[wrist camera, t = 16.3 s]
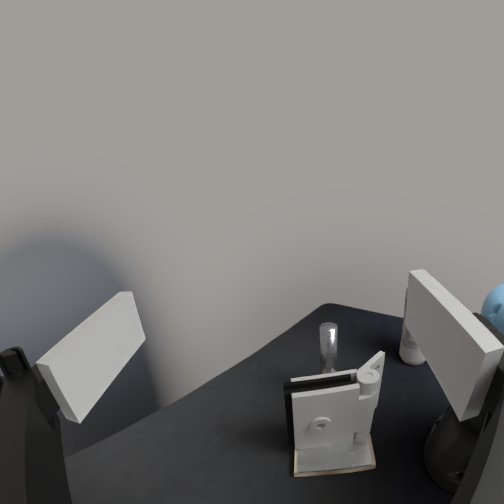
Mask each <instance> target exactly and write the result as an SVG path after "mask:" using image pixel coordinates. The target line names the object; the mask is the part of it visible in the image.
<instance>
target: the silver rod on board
mask: <svg viewBox="0 0 504 504" xmlns="http://www.w3.org/2000/svg"><path fill="white" fill-rule="evenodd" d="M336 370H337V325H336V324H335V323H331V322H328V323H323V324H322V325H321V326H320V375H321V374H328V373H335V372H336ZM371 465H372V459H371V453H370V448H369V443H368V438H367V435H366V436H364V437H356V436H354V437H353V441H349V442H344V443H339V444H333V445H327V446H320V447H313V448H306V449H299V459H298V473H309V472H323V471H334V470H343V469H351V468H358V467H365V466H371Z"/></svg>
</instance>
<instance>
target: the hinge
mask: <svg viewBox="0 0 504 504" xmlns="http://www.w3.org/2000/svg"><path fill="white" fill-rule="evenodd" d="M384 357H385V352H383V351H379V352H378V353H377V354H376V355H375V356H374V357H372V358H371V359H370V360H369V361H368V362H367V363H366V364H364V365H363V366H362V367H361V368H360V369H358V370H356V369H352V370H347V371H341V372H335V373H328V374H321V375H314V376H307V377H299V378H291V382H285V383H283V384H284V396H285V407H286V419H287V431H288V443H289V446H292V445H295V450H297V449H306V448H313V447H320V446H327V445H333V444H339V443H344V442H349V441H353V437H354V436H356V437H364V436H366V435H368V434H369V432H370V429H371V424H372V419H373V414H374V409H375V408H376V407H377V403H378V398H379V392H380V386H381V379H382V372H383V365H384Z"/></svg>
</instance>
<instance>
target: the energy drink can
mask: <svg viewBox="0 0 504 504" xmlns="http://www.w3.org/2000/svg"><path fill="white" fill-rule="evenodd" d="M407 295H408V288H407V290H406V297H405V309H404V319H403V328H402V336H401V344H400V351H399V354H400V356H401V358H402V360H403V361H404V362H405V363H407V364H410V365H419V364H422V363H423V362H425V360H426V359H425V357H424V355H423V354H422V352H421V350H420V349H419V347H418V345H417V344H416V342H415V341H414V339H413V337H412V336H411V334H410V332H409V331H408V329H407V328H406V326H405V317H406V307H407Z"/></svg>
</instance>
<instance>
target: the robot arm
mask: <svg viewBox="0 0 504 504" xmlns="http://www.w3.org/2000/svg"><path fill="white" fill-rule="evenodd" d="M408 282H409V283H408V295H407V307H406V317H405V326H406V328H407V329H408V331H409V332H410V334H411V336H412V337H413V339H414V341H415V342H416V344H417V345H418V347H419V349H420V350H421V352H422V354H423V355H424V357H425V359H426V361H427V362H428V364H429V366H430V367H431V369H432V371H433V373H434V374H435V376H436V378H437V380H438V381H439V383H440V385H441V387H442V389H443V391H444V392H445V394H446V396H447V398H448V400H449V402H450V404H451V405H450V406H449V407H448V408H447V409H446V411H445V412H444V413H443V414H442V415H441V416H440V417H439V418H438V419H437V420H436V422H435V423H434V425H433V426H432V428H431V430H430V433H429V435H428V437H427V440H426V442H425V446H424V452H423V457H424V463H425V467H426V469H427V471H428V473H429V475H430V476H431V478H432V479H433V480H434V481H435V482H436V483H437V484H438V485H439V486H440V487H442V488H443V489H445V490H447V491H449V492H452V493H455V495H454V497H453V499H452V501H451V503H450V504H504V283H501V284H500V285H498V286H497V287H495V288H494V289H493V290H492V291H491V292H490V293H489V294H488V295H487V297H486V299H485V301H484V303H483V306H482V310H481V314H480V315H479V314H478V313H471V312H470V311H469V310H468V309H467V308H466V307H465V306H464V305H462V303H460V302H459V301H458V300H457V299H456V298H455V297H454V296H453V295H452V294H450V292H449V291H447V290H446V289H445V288H444V287H443V286H442V285H441V284H440V283H439V282H438V281H436V280H435V279H434V278H433V277H432V276H431V275H430V274H428V273H427V272H426V271H425V270H424V269H422V270H414V271H409V281H408ZM144 341H145V335H144V332H143V329H142V326H141V322H140V319H139V315H138V312H137V308H136V305H135V302H134V298H133V294H132V292H119V293H118V294H117V295H115V296H114V297H113V298H111V299H110V300H109V301H108V302H107V303H105V304H104V305H103V306H102V307H100V308H99V309H98V310H97V311H95V312H94V313H93V314H92V315H91V316H89V317H88V318H87V319H86V320H85V321H83V322H82V323H81V324H80V325H79V326H77V327H76V328H75V329H74V330H73V331H72V332H70V333H69V334H68V335H67V336H66V337H64V338H63V339H62V340H61V341H60V342H59V343H58V344H56V345H55V346H54V347H53V348H52V349H50V350H49V351H48V352H47V353H46V354H45V355H44V356H42V357H41V358H40V359H39V360H38V361H37V362H36V364H35V365H34V366H33V367H32V368H31V367H30V365H29V363H28V360H27V358H26V356H25V354H24V352H23V350H22V348H20V347H12V348H9V349H6V350H5V351H3V352H1V353H0V367H1V370H2V372H3V374H4V375H5V377H3V376H0V504H72V500H71V496H70V491H69V486H68V481H67V475H66V469H65V463H64V456H63V448H62V439H61V429H60V420H59V417H58V415H57V414H56V412H57V411H58V410H59V409H61V411H62V412H63V414H64V415H65V417H66V419H68V420H71V421H74V422H77V423H81V421H82V420H83V419H84V418H85V416H86V415H87V414H88V412H89V411H90V410H91V409H92V407H93V406H94V405H95V403H96V402H97V401H98V399H99V398H100V397H101V395H102V394H103V393H104V391H105V390H106V389H107V387H108V386H109V385H110V384H111V382H112V381H113V380H114V378H115V377H116V376H117V374H118V373H119V372H120V371H121V370H122V368H123V367H124V366H125V365H126V363H127V362H128V361H129V359H130V358H131V357H132V356H133V354H134V353H135V352H136V351H137V349H138V348H139V347H140V346H141V344H142V343H143V342H144Z"/></svg>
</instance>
